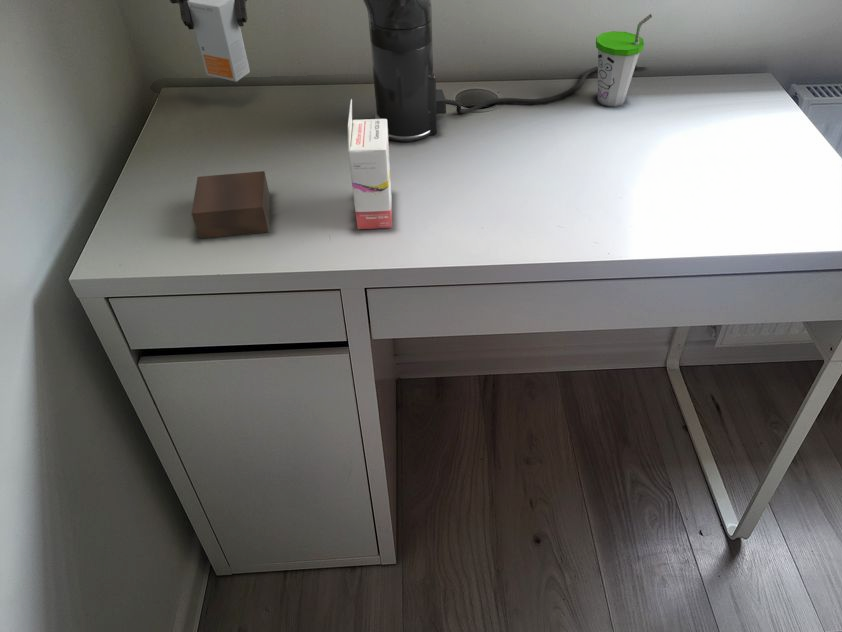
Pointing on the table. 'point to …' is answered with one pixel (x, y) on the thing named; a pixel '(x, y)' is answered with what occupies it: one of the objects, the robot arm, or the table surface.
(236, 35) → the cosmetic box
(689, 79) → the table surface
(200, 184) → the block
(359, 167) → the ink cartridge box
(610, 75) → the cup
